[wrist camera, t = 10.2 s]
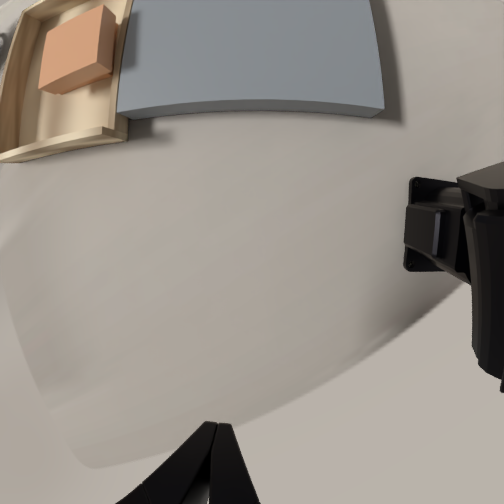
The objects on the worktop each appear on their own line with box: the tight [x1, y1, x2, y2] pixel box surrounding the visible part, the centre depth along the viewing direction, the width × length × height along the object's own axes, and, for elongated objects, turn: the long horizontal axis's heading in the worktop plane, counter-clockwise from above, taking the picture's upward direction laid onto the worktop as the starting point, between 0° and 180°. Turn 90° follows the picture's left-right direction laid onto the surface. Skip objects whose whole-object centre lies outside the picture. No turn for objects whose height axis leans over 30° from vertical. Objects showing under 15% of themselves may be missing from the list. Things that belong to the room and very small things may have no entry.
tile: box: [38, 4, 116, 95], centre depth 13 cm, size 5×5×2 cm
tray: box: [0, 0, 134, 163], centre depth 15 cm, size 12×15×4 cm
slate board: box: [117, 0, 385, 120], centre depth 14 cm, size 16×12×2 cm
